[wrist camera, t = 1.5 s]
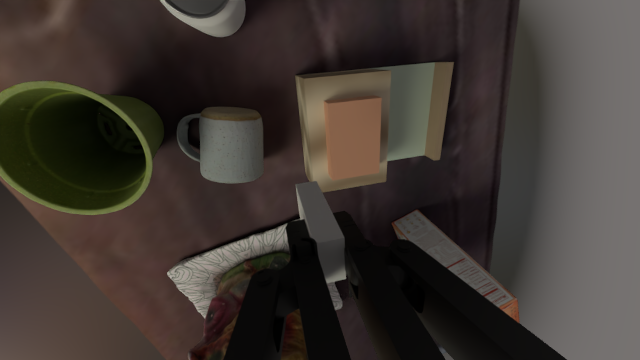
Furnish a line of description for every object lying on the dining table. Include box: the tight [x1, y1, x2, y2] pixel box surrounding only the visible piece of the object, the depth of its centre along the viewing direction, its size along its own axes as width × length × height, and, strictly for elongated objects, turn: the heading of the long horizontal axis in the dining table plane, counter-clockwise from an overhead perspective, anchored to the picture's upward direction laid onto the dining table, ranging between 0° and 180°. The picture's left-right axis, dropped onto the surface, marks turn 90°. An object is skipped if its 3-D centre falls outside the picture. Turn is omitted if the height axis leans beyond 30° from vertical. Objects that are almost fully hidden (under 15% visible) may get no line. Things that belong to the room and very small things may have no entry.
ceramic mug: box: [177, 107, 264, 183], centre depth 31 cm, size 11×8×8 cm
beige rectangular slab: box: [295, 69, 391, 192], centre depth 34 cm, size 14×10×7 cm
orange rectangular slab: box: [324, 95, 382, 181], centre depth 30 cm, size 9×6×2 cm, turn 4°
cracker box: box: [392, 209, 519, 323], centre depth 41 cm, size 14×6×21 cm, turn 24°
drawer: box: [368, 62, 454, 161], centre depth 37 cm, size 14×11×3 cm
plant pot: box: [0, 81, 164, 215], centre depth 27 cm, size 12×12×11 cm
